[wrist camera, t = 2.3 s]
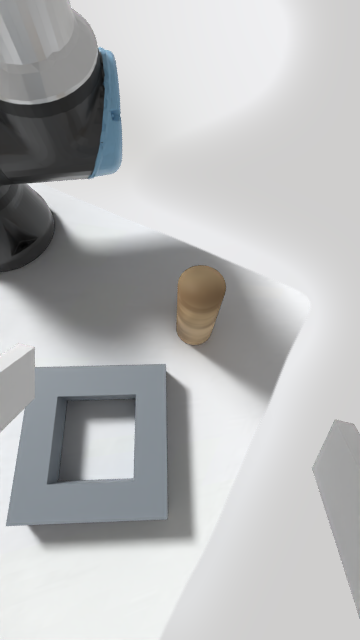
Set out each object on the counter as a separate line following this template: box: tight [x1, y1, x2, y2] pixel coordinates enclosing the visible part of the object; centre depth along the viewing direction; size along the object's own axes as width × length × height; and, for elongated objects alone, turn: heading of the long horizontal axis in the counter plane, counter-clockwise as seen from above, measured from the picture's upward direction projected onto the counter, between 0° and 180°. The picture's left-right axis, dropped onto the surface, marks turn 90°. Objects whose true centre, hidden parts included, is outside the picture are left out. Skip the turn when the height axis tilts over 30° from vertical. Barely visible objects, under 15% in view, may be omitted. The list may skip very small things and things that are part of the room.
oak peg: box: [176, 265, 226, 345], centre depth 37 cm, size 5×5×12 cm
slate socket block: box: [6, 364, 168, 526], centre depth 35 cm, size 16×16×4 cm
